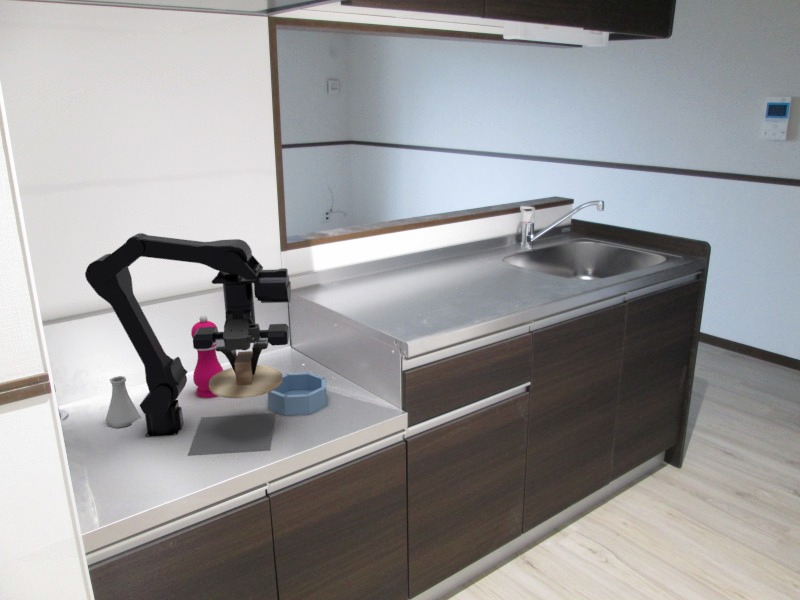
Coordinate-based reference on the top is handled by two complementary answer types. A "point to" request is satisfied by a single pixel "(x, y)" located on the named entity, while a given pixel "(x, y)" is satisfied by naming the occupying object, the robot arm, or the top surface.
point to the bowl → (298, 394)
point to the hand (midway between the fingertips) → (245, 374)
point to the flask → (121, 405)
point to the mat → (233, 434)
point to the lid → (245, 379)
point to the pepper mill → (205, 363)
